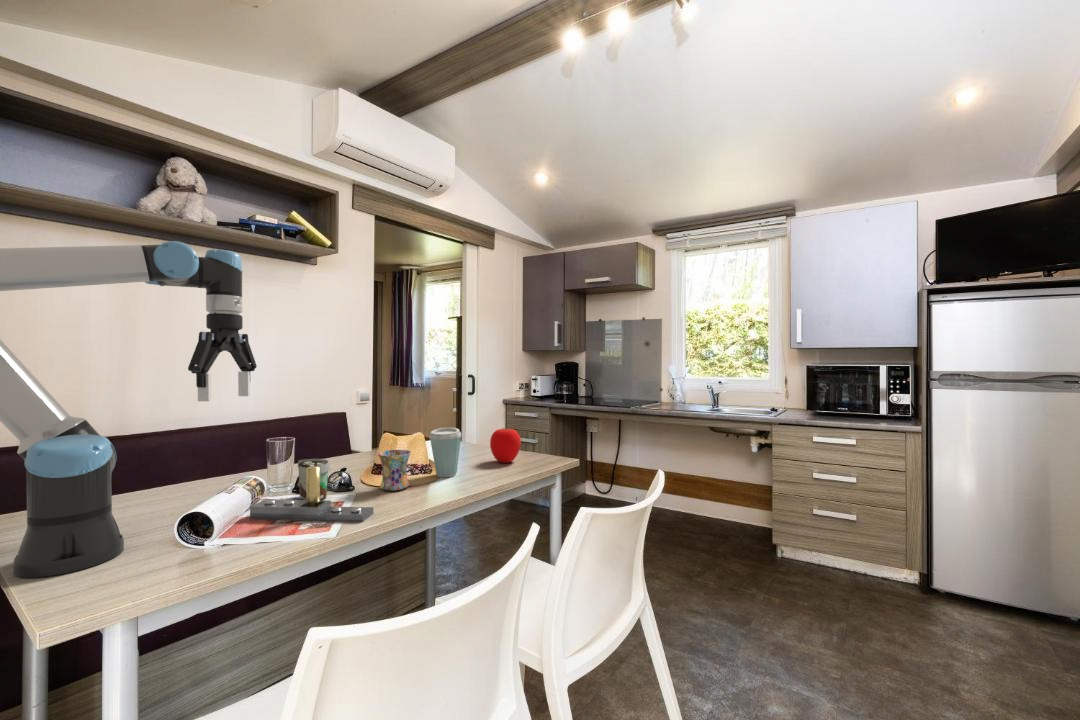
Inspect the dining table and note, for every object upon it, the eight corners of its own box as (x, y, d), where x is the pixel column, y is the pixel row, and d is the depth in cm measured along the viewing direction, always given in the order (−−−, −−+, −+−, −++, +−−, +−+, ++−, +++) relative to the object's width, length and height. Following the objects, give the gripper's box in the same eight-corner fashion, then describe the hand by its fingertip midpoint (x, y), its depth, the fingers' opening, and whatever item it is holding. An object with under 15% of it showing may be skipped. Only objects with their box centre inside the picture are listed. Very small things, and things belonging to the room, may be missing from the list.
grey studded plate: (373, 513, 118) (373, 499, 118) (362, 521, 112) (362, 507, 112) (266, 511, 120) (265, 497, 120) (250, 519, 114) (249, 504, 114)
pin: (316, 518, 115) (315, 469, 115) (304, 518, 115) (303, 468, 115) (322, 514, 118) (322, 466, 118) (310, 514, 118) (310, 466, 118)
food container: (338, 499, 130) (338, 463, 130) (315, 504, 125) (315, 467, 125) (320, 490, 138) (319, 456, 138) (297, 495, 134) (297, 460, 134)
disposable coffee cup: (458, 479, 150) (458, 432, 150) (425, 479, 150) (424, 432, 150) (464, 471, 161) (464, 427, 161) (433, 471, 161) (432, 427, 161)
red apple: (486, 464, 170) (486, 429, 170) (494, 458, 181) (494, 424, 181) (517, 466, 168) (517, 430, 168) (523, 459, 179) (523, 425, 179)
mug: (416, 488, 141) (416, 452, 140) (387, 494, 134) (387, 457, 134) (397, 480, 149) (396, 447, 149) (368, 486, 142) (368, 451, 142)
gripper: (199, 308, 106) (200, 403, 106) (270, 317, 130) (271, 394, 131) (167, 309, 106) (169, 403, 106) (244, 317, 131) (245, 394, 131)
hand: (225, 398), depth 118 cm, fingers open, 13 cm apart
